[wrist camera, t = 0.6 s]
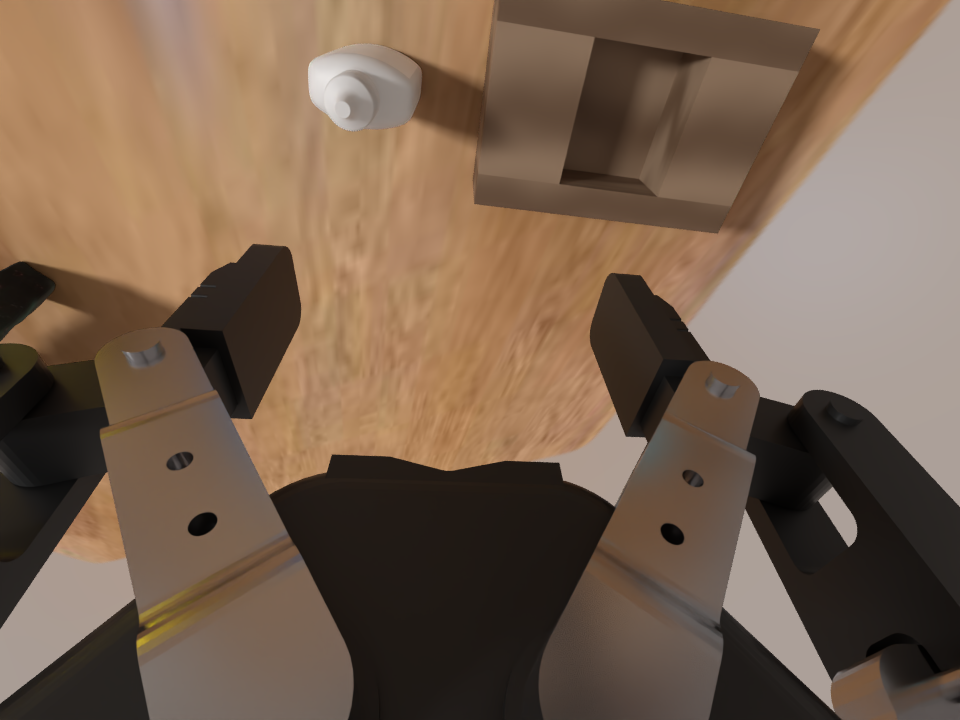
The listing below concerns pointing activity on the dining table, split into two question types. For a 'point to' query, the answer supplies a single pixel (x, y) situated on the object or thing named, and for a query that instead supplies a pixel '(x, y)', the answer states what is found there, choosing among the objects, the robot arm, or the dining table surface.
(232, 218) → the dining table surface
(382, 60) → the eye dropper bottle
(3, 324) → the ceramic cat
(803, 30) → the walnut holder
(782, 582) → the robot arm
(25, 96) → the dining table surface
